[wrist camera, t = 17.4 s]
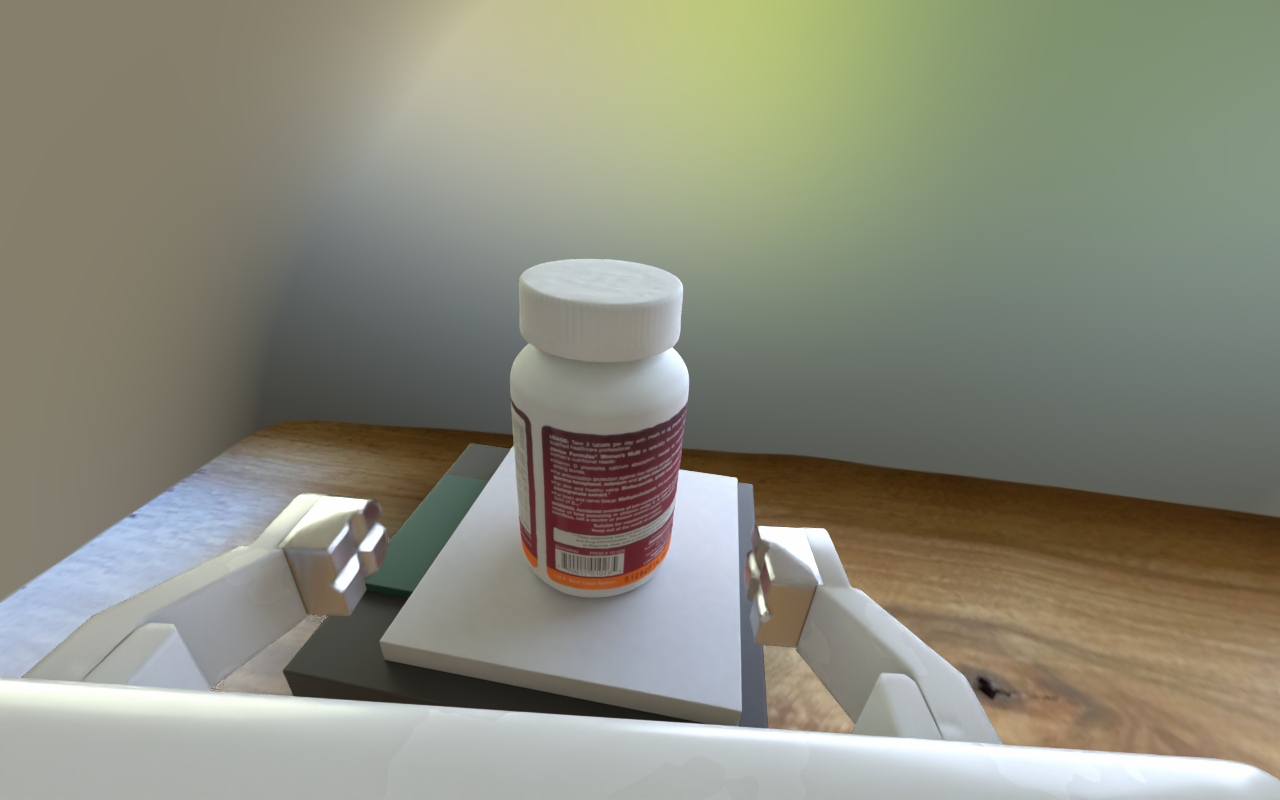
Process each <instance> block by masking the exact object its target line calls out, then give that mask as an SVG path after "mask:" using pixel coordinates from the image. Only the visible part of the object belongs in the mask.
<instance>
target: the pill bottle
mask: <svg viewBox="0 0 1280 800" xmlns="http://www.w3.org/2000/svg"><path fill="white" fill-rule="evenodd" d="M682 298H683V285H682V283H681V281H680V280H679V279H678V278H677V277H676V276H674V275H673V274H671V273H669V272H667V271H664V270H662V269H659V268H656V267H652V266H648V265H644V264H639V263H633V262H626V261H618V260H607V259H570V260H560V261H553V262H547V263H543V264H539V265H536V266H534V267H531V268H529V269H527V270H526V271H524V272H523V274H522V275H521V277H520V280H519V300H520V319H519V321H520V332H521V334H522V336H523V338H524V339H525V340H526V341H527V342H528V343H529V344H528V345H527V346H526V347H525V348H523V350H522V351H521V352H520V353H519V354H518V356H517V358H516V359H515V361H514V363H513V365H512V369H511V374H510V390H511V391H510V392H511V408H512V424H513V438H514V452H515V467H516V481H517V495H518V508H519V522H520V533H521V543H522V549H523V553H524V556H525V559H526V561H527V563H528V565H529V567H530V568H531V569H532V571H533V572H534V573H535V574H536V575H537V576H538V577H539V578H540V579H541V580H542V581H544V582H545V583H546V584H548V585H549V586H551V587H552V588H554V589H556V590H558V591H560V592H562V593H566V594H569V595H573V596H578V597H588V598H597V597H609V596H614V595H618V594H622V593H625V592H628V591H630V590H633V589H635V588H637V587H639V586H641V585H642V584H644V583H645V582H647V581H648V580H649V579H651V578H652V577H653V576H654V575H655V574H656V573H657V572H658V571H659V569H660V568H661V566H662V565H663V563H664V562H665V560H666V557H667V555H668V551H669V547H670V541H671V534H672V526H673V517H674V509H675V500H676V491H677V483H678V475H679V468H680V461H681V454H682V444H683V431H684V424H685V416H686V408H687V402H688V389H689V376H688V371H687V368H686V365H685V363H684V361H683V360H682V358H681V357H680V356H679V354H678V353H677V352H676V351H675V350H674V349H673V348H672V347H673V346H674V345H675V344H676V343H677V341H678V339H679V335H680V327H681V323H680V319H681V308H682Z"/></svg>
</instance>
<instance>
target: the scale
mask: <svg viewBox="0 0 1280 800" xmlns="http://www.w3.org/2000/svg"><path fill="white" fill-rule="evenodd" d="M754 525H755V513H754V497H753V485H751V484H744V483H738V482H737V478H733V477H726V476H719V475H712V474H706V473H699V472H692V471H685V470H679V475H678V483H677V491H676V500H675V509H674V517H673V526H672V534H671V541H670V547H669V551H668V555H667V557H666V560H665V562H664V563H663V565H662V566H661V568H660V569H659V571H658V572H657V573H656V574H655V575H654V576H653V577H652V578H651V579H649V580H648V581H647V582H645V583H644V584H642V585H641V586H639V587H637V588H635V589H633V590H630V591H628V592H625V593H622V594H618V595H614V596H609V597H597V598H588V597H578V596H573V595H569V594H566V593H562V592H560V591H558V590H556V589H554V588H552V587H551V586H549V585H548V584H546V583H545V582H544V581H542V580H541V579H540V578H539V577H538V576H537V575H536V574H535V573H534V572H533V571H532V569H531V568H530V567H529V565H528V563H527V561H526V559H525V556H524V553H523V549H522V543H521V533H520V522H519V508H518V495H517V481H516V467H515V452H514V446H513V447H512V448H511V449H506V448H500V447H493V446H486V445H479V444H472V443H471V444H470V445H469V446H468V447H467V448H466V450H465V451H464V452H463V453H462V455H461V456H460V457H459V458H458V459H457V461H456V462H455V463H454V464H453V465H452V467H451V468H450V469H449V470H448V471H447V473H446V474H445V475H444V476H443V477H442V479H441V480H440V481H439V482H438V483H437V485H436V486H435V487H434V488H433V489H432V491H431V492H430V493H429V494H428V495H427V497H426V498H425V499H424V500H423V502H422V503H421V504H420V505H419V506H418V508H417V509H416V510H415V511H414V512H413V514H412V515H411V516H410V517H409V518H408V520H407V521H406V522H405V523H404V525H403V526H402V527H401V528H400V529H399V531H398V532H397V533H396V534H395V535H394V537H393V538H392V539H391V540H390V541H389V543H388V549H387V552H386V556H385V559H384V562H383V564H382V565H381V567H380V569H379V570H378V572H377V573H376V574H374V575H372V576H371V577H369V578H368V579H366V580H365V585H366V589H367V590H366V591H365V593H364V594H363V596H362V598H361V599H360V601H359V602H358V604H357V605H356V607H355V609H354V610H353V612H352V613H351V615H350V616H336V615H328V617H327V618H326V619H325V620H324V622H323V623H322V624H321V625H320V626H319V628H318V629H317V630H316V631H315V632H314V634H313V635H312V636H311V637H310V638H309V640H308V641H307V642H306V643H305V645H304V646H303V647H302V648H301V649H300V651H299V652H298V653H297V654H296V655H295V657H294V658H293V659H292V660H291V661H290V663H289V664H288V665H287V666H286V668H285V669H284V670H283V673H284V675H285V678H286V680H287V682H288V684H289V687H290V689H291V691H292V693H293V696H296V697H311V698H326V699H340V700H355V701H370V702H384V703H399V704H414V705H428V706H443V707H457V708H472V709H486V710H501V711H515V712H530V713H544V714H559V715H574V716H589V717H604V718H619V719H634V720H649V721H664V722H679V723H694V724H709V725H724V726H738V727H753V728H767V729H768V719H767V704H766V688H765V672H764V656H763V645H762V644H755V640H754V635H753V630H752V625H751V619H750V613H751V609H752V603H751V602H750V601H749V600H748V599H747V598H746V592H745V585H744V566H745V560H746V555H747V553H748V552H749V551H751V550H752V545H751V540H750V537H751V533H752V529H753V527H754Z"/></svg>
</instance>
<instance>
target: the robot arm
mask: <svg viewBox="0 0 1280 800" xmlns="http://www.w3.org/2000/svg"><path fill="white" fill-rule="evenodd" d="M381 514H382V510H381V507H380V503H379V501H377V500H375V499H373V498H363V497H352V496H341V495H330V494H329V495H325V494H314V493H304V494H301V495H298V496H297V497H296V498H295V499H294V500H293V501H292V502H291V503H290V504H289V505H288V506H287V507H286V508H285V509H284V510H283V511H282V512H281V513H280V514H279V515H278V516H277V517H276V519H275V520H274V521H273V522H272V523H271V524H270V525H269V526H268V527H267V528H266V529H265V530H264V531H263V532H262V533H261V534H260V535H259V536H258V537H257V538H256V539H255V540H254V541H253V542H252V543H251V544H250V545H249V546H240V547H237V548H235V549H233V550H231V551H229V552H227V553H225V554H223V555H220V556H218V557H216V558H214V559H212V560H210V561H208V562H206V563H204V564H201V565H199V566H197V567H195V568H193V569H191V570H189V571H187V572H184V573H182V574H180V575H178V576H176V577H174V578H172V579H170V580H168V581H165V582H163V583H161V584H159V585H157V586H155V587H153V588H151V589H148V590H146V591H144V592H142V593H140V594H138V595H136V596H134V597H132V598H129V599H127V600H125V601H123V602H121V603H119V604H117V605H115V606H112V607H110V608H108V609H106V610H104V611H102V612H100V613H98V614H95V615H93V616H91V617H90V618H89V619H88V620H87V621H86V622H85V623H83V624H82V625H81V626H80V627H79V628H78V629H76V630H75V631H74V632H73V633H72V634H71V635H70V636H68V637H67V638H66V639H65V640H64V641H63V642H61V643H60V644H59V645H58V646H57V647H56V648H55V649H53V650H52V651H51V652H50V653H49V654H48V655H46V656H45V657H44V658H43V659H42V660H41V661H40V662H38V663H37V664H36V665H35V666H34V667H33V668H31V669H30V670H29V671H28V672H27V673H26V674H25V675H23V676H22V677H21V678H17V677H2V676H0V800H1280V780H1279V779H1277V778H1275V777H1274V776H1272V775H1270V774H1269V773H1267V772H1265V771H1263V770H1261V769H1259V768H1256V767H1254V766H1251V765H1248V764H1244V763H1240V762H1237V761H1229V760H1221V759H1212V758H1199V757H1183V756H1167V755H1151V754H1136V753H1121V752H1106V751H1091V750H1076V749H1061V748H1045V747H1031V746H1016V745H1003V744H1002V742H1001V740H1000V738H999V737H998V735H997V733H996V731H995V729H994V728H993V726H992V724H991V722H990V720H989V719H988V717H987V715H986V713H985V711H984V710H983V708H982V706H981V704H980V702H979V701H978V699H977V697H976V695H975V693H974V692H973V690H972V688H971V686H970V684H969V683H968V681H967V679H966V677H965V676H964V675H962V674H961V673H960V672H959V671H958V670H956V669H955V668H954V667H953V666H952V665H950V664H949V663H948V662H947V661H946V660H944V659H943V658H942V657H941V656H939V655H938V654H937V653H936V652H935V651H933V650H932V649H931V648H930V647H929V646H927V645H926V644H925V643H924V642H923V641H921V640H920V639H919V638H918V637H917V636H915V635H914V634H913V633H912V632H911V631H909V630H908V629H907V628H906V627H905V626H903V625H902V624H901V623H900V622H898V621H897V620H896V619H895V618H894V617H892V616H891V615H890V614H889V613H888V612H886V611H885V610H884V609H883V608H882V607H880V606H879V605H878V604H877V603H876V602H874V601H873V600H872V599H871V598H870V597H868V596H867V595H866V594H865V593H863V592H862V591H861V590H860V589H857V588H852V587H851V585H850V583H849V580H848V578H847V576H846V573H845V571H844V569H843V566H842V564H841V562H840V559H839V557H838V555H837V552H836V550H835V548H834V545H833V543H832V541H831V538H830V536H829V534H828V532H827V531H826V530H825V529H822V528H803V527H801V528H797V527H780V526H764V525H754V527H753V529H752V533H751V537H750V540H751V545H752V550H751V551H749V552H748V553H747V555H746V560H745V566H744V585H745V592H746V598H747V599H748V600H749V601H750V602H751V603H752V609H751V613H750V619H751V625H752V630H753V635H754V640H755V644H762V645H772V646H782V647H793V648H797V649H796V650H797V652H798V653H799V654H800V655H801V657H802V658H803V659H804V660H805V662H806V663H807V664H808V665H809V667H810V668H811V669H812V670H813V672H814V673H815V674H816V675H817V677H818V678H819V679H820V681H821V682H822V683H823V684H824V686H825V687H826V688H827V689H828V691H829V692H830V693H831V694H832V696H833V697H834V698H835V699H836V701H837V702H838V703H839V704H840V706H841V707H842V708H843V710H844V711H845V712H846V713H847V715H848V716H849V717H850V718H851V720H852V721H853V722H854V723H855V725H856V726H855V728H854V730H853V732H852V734H841V733H826V732H811V731H797V730H782V729H767V728H753V727H738V726H724V725H709V724H694V723H679V722H664V721H649V720H634V719H619V718H604V717H589V716H574V715H559V714H544V713H530V712H515V711H501V710H486V709H472V708H457V707H443V706H428V705H414V704H399V703H384V702H370V701H355V700H340V699H326V698H311V697H296V696H281V695H267V694H252V693H237V692H223V691H212V689H211V688H213V687H214V686H215V685H217V684H218V683H219V682H221V681H222V680H223V679H225V678H226V677H227V676H229V675H230V674H231V673H233V672H234V671H235V670H237V669H238V668H239V667H241V666H242V665H243V664H245V663H246V662H247V661H249V660H250V659H251V658H253V657H254V656H255V655H257V654H258V653H260V652H261V651H262V650H264V649H265V648H266V647H268V646H269V645H270V644H272V643H273V642H274V641H276V640H277V639H278V638H280V637H281V636H282V635H284V634H285V633H286V632H288V631H289V630H290V629H292V628H293V627H294V626H296V625H297V624H298V623H300V622H301V621H302V620H304V619H305V618H306V617H307V614H311V615H336V616H350V615H351V613H352V612H353V610H354V609H355V607H356V605H357V604H358V602H359V601H360V599H361V598H362V596H363V594H364V593H365V591H366V590H367V589H366V585H365V580H366V579H368V578H369V577H371V576H372V575H374V574H376V573H377V572H378V570H379V569H380V567H381V565H382V564H383V562H384V559H385V556H386V552H387V549H388V536H387V531H386V528H385V527H384V526H383V525H381V524H380V523H379V522H378V521H377V520H378V519H379V517H380V516H381Z"/></svg>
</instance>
